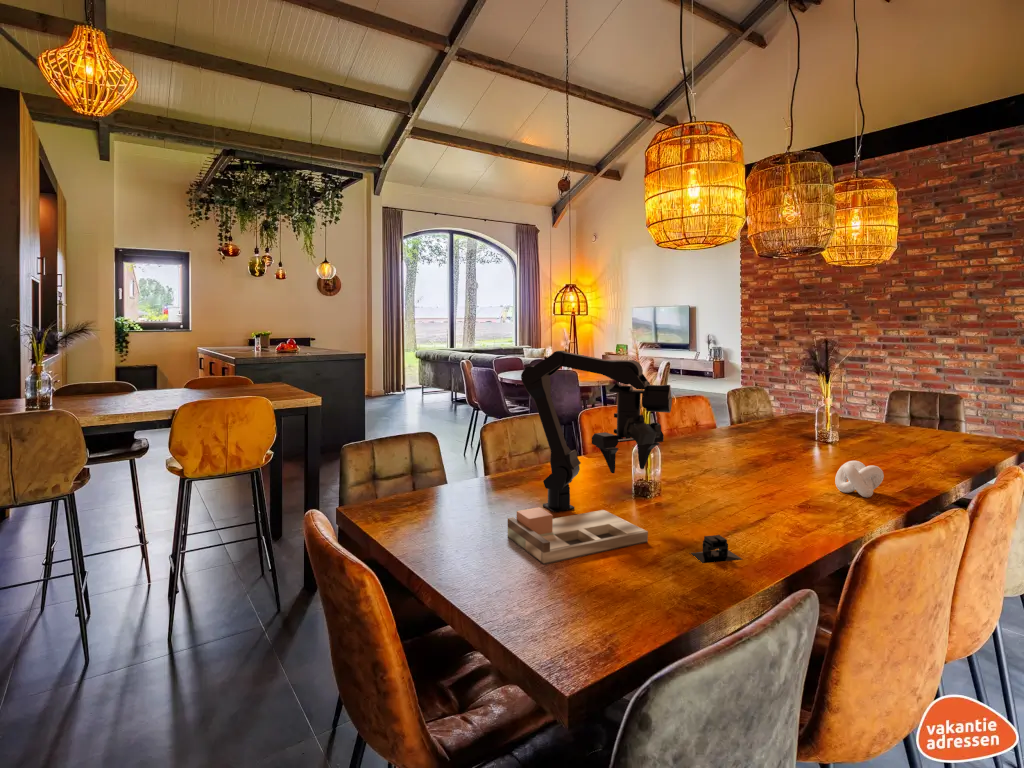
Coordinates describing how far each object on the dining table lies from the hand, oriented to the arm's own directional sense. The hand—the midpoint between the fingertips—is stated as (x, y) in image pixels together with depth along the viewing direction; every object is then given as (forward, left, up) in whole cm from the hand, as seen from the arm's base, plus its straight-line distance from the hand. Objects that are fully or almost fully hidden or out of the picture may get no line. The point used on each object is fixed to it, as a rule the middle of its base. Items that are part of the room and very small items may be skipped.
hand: (627, 470), depth 142 cm
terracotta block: (+4, -29, -10) cm, 31 cm away
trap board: (+8, -20, -12) cm, 24 cm away
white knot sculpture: (+13, +73, -12) cm, 75 cm away
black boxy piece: (+28, +1, -13) cm, 31 cm away
